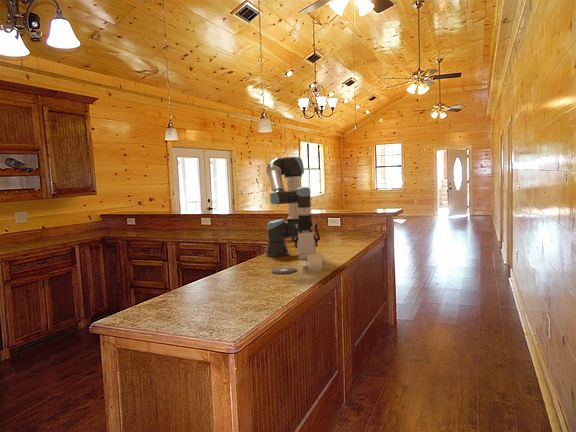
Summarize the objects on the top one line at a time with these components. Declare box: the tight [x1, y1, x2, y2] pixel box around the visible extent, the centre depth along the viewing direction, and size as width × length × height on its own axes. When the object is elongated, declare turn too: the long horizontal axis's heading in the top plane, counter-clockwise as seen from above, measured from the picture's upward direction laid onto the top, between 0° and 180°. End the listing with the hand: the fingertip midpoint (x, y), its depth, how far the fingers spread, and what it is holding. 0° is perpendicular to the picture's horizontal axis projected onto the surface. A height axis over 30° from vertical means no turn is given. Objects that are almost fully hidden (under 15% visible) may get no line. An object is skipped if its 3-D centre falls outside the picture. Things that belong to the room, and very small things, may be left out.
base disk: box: [271, 266, 298, 275], centre depth 236 cm, size 14×14×1 cm
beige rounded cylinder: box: [306, 252, 324, 273], centre depth 233 cm, size 8×8×9 cm
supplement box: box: [297, 230, 315, 260], centre depth 246 cm, size 9×9×15 cm
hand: (306, 253), depth 246 cm, fingers closed on supplement box, 9 cm apart
